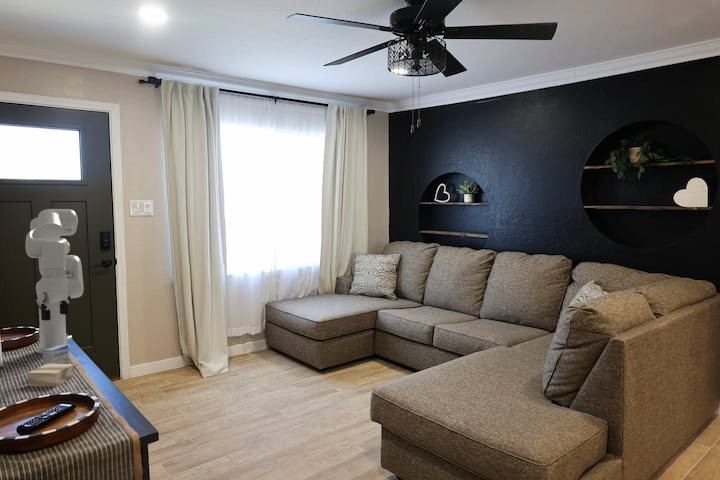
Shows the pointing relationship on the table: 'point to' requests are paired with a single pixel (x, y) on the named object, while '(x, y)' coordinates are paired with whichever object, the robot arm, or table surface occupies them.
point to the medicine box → (56, 355)
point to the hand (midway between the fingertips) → (55, 317)
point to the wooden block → (51, 375)
